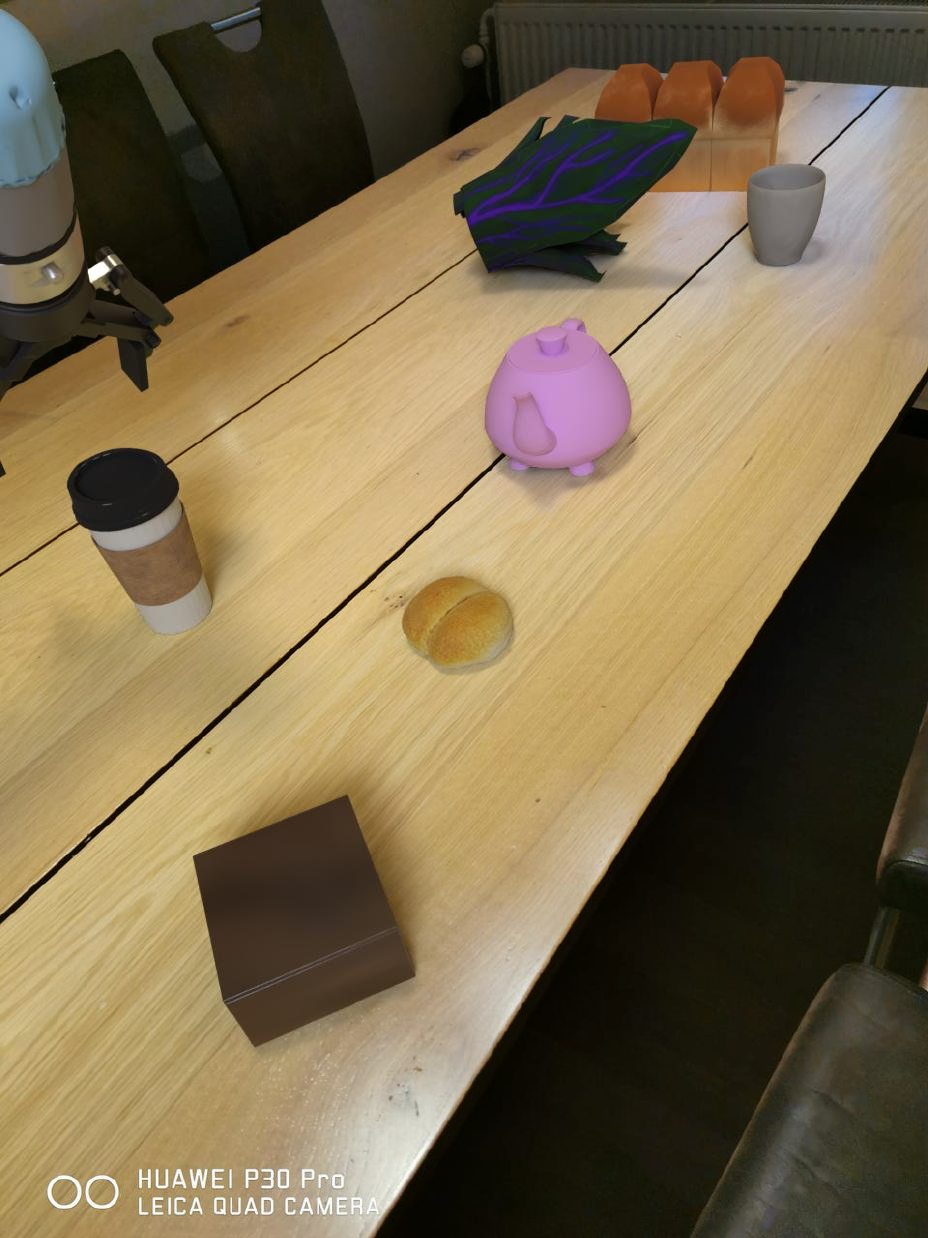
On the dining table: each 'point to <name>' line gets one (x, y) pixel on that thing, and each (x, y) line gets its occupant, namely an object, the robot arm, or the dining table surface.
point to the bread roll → (458, 622)
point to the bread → (706, 117)
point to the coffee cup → (142, 534)
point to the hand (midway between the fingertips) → (65, 419)
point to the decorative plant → (568, 191)
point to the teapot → (557, 400)
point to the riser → (299, 921)
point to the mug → (784, 210)
